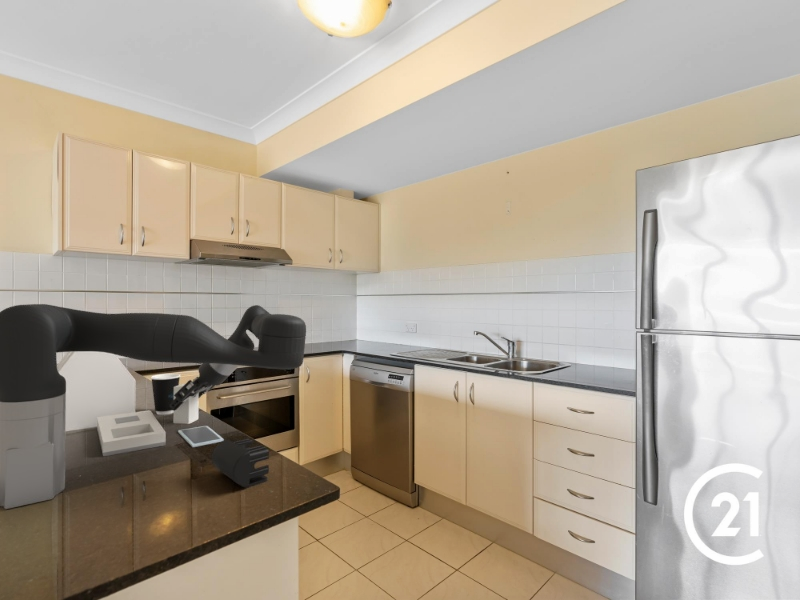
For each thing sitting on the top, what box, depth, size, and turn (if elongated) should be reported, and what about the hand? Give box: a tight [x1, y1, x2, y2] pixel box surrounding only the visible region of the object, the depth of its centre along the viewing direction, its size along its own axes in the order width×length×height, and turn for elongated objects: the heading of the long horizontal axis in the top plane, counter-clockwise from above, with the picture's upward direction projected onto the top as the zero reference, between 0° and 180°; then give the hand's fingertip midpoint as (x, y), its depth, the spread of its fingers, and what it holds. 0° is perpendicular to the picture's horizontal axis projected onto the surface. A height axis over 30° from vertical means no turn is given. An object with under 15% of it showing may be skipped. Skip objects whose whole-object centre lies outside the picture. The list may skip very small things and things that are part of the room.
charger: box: [172, 383, 200, 425], centre depth 118 cm, size 5×4×10 cm
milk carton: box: [57, 351, 137, 432], centre depth 117 cm, size 19×15×25 cm
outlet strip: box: [96, 410, 167, 457], centre depth 105 cm, size 24×12×3 cm, turn 38°
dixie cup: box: [150, 373, 182, 416], centre depth 126 cm, size 8×8×11 cm
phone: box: [177, 425, 225, 448], centre depth 105 cm, size 14×7×1 cm, turn 40°
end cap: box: [211, 438, 270, 489], centre depth 81 cm, size 10×7×7 cm
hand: (181, 404), depth 118 cm, fingers open, 8 cm apart
